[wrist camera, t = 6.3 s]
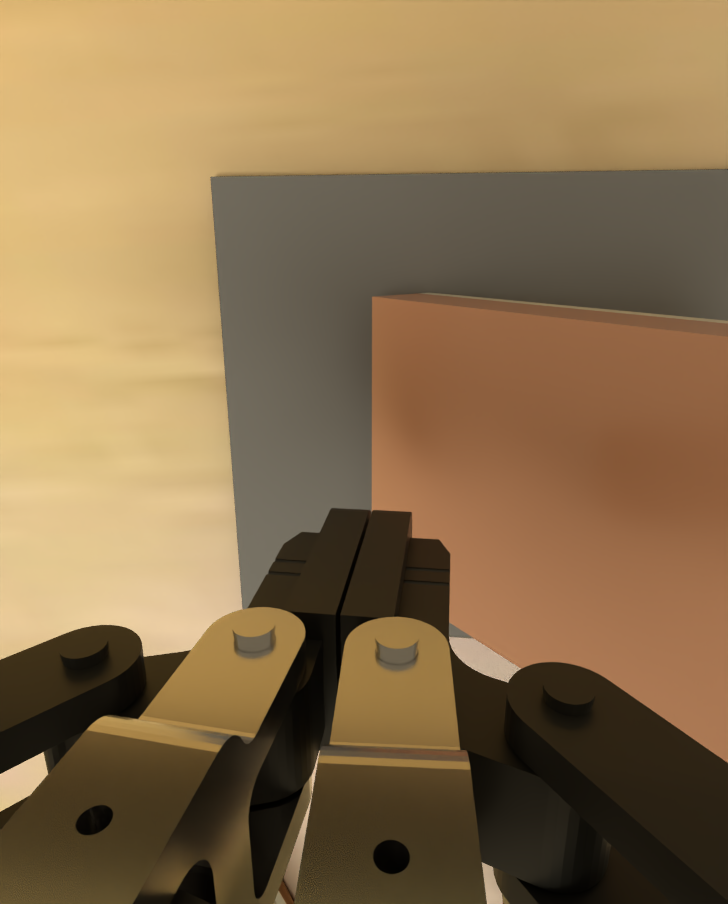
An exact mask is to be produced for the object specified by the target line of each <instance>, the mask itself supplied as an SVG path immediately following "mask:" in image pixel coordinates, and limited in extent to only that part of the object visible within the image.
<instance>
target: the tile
mask: <svg viewBox="0 0 728 904" xmlns="http://www.w3.org/2000/svg"><path fill="white" fill-rule="evenodd" d="M373 510H385V511H405V512H412V538H424V539H439V540H440V541H441V542H442V544H443V545H444V546H445V547H446V549H447V550H448V551H449V552H450V603H449V623H451V624H452V625H454V626H456V627H457V628H459V629H460V630H462V631H463V632H465V633H467V634H468V635H470V636H471V637H473V638H474V639H476V640H478V641H479V642H481V643H482V644H484V645H485V646H487V647H488V648H490V649H492V650H493V651H495V652H496V653H498V654H499V655H501V656H503V657H504V658H506V659H507V660H509V661H510V662H512V663H513V664H515V665H517V666H518V667H520V668H521V669H522V668H524V667H526V666H529V665H532V664H536V663H541V662H562V663H568V664H573V665H577V666H581V667H584V668H586V669H589V670H591V671H594V672H596V673H598V674H600V675H601V676H603V677H605V678H606V679H608V680H609V681H611V682H612V683H614V684H615V685H617V686H618V687H619V688H621V689H622V690H624V691H625V692H627V693H628V694H629V695H631V696H632V697H634V698H635V699H637V700H638V701H640V702H641V703H642V704H644V705H645V706H647V707H648V708H650V709H651V710H652V711H654V712H655V713H657V714H658V715H660V716H661V717H663V718H664V719H665V720H667V721H668V722H670V723H671V724H673V725H674V726H675V727H677V728H678V729H680V730H681V731H683V732H684V733H686V734H687V735H688V736H690V737H691V738H693V739H694V740H696V741H697V742H699V743H700V744H701V745H703V746H704V747H706V748H707V749H709V750H710V751H711V752H713V753H714V754H716V755H717V756H719V757H720V758H722V759H723V760H724V761H726V762H727V763H728V321H725V320H714V319H704V318H693V317H683V316H672V315H662V314H651V313H640V312H630V311H619V310H609V309H598V308H588V307H577V306H566V305H556V304H545V303H535V302H524V301H514V300H503V299H492V298H482V297H471V296H461V295H450V294H440V293H416V294H402V295H388V296H374V297H372V511H373Z"/></svg>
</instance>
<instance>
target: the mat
mask: <svg viewBox="0 0 728 904" xmlns="http://www.w3.org/2000/svg"><path fill="white" fill-rule="evenodd" d="M211 189H212V203H213V216H214V230H215V243H216V257H217V270H218V284H219V297H220V311H221V324H222V338H223V351H224V365H225V378H226V392H227V405H228V419H229V432H230V446H231V459H232V473H233V486H234V499H235V513H236V526H237V540H238V553H239V567H240V580H241V594H242V607H243V609H247V608H248V606H249V604H250V603H251V601H252V599H253V597H254V595H255V594H256V592H257V590H258V588H259V587H260V585H261V583H262V581H263V580H264V578H265V576H266V574H268V571H269V569H270V567H271V565H272V564H273V562H275V558H276V557H277V555H278V553H279V551H280V549H281V548H282V546H283V544H284V543H286V542H287V541H289V540H290V539H292V538H293V537H295V536H296V535H298V534H299V533H301V532H315V533H320V531H321V529H322V526H323V524H324V522H325V520H326V518H327V516H328V513H329V511H330V509H331V508H343V509H363V510H370V511H371V514H372V297H374V296H388V295H402V294H416V293H440V294H450V295H461V296H471V297H482V298H492V299H503V300H514V301H524V302H535V303H545V304H556V305H566V306H577V307H588V308H598V309H609V310H619V311H630V312H640V313H651V314H662V315H672V316H683V317H693V318H704V319H714V320H725V321H728V169H711V170H642V171H574V172H506V173H437V174H369V175H300V176H232V177H211ZM449 637H462V638H473V637H471V636H470V635H468V634H467V633H465V632H463V631H462V630H460V629H459V628H457V627H456V626H454V625H452V624H451V623H449Z"/></svg>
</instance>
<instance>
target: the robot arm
mask: <svg viewBox="0 0 728 904" xmlns="http://www.w3.org/2000/svg"><path fill="white" fill-rule="evenodd" d="M449 603H450V552H449V551H448V550H447V549H446V547H445V546H444V545H443V544H442V542H441V541H440V540H439V539H424V538H412V512H405V511H385V510H373V511H372V514H371V511H370V510H363V509H343V508H331V509H330V511H329V513H328V516H327V518H326V520H325V522H324V524H323V526H322V529H321V531H320V533H315V532H301V533H299V534H298V535H296V536H295V537H293V538H292V539H290V540H289V541H287V542H286V543H284V544H283V546H282V548H281V549H280V551H279V553H278V555H277V557H276V558H275V562H273V564H272V565H271V567H270V569H269V571H268V574H266V576H265V578H264V580H263V581H262V583H261V585H260V587H259V588H258V590H257V592H256V594H255V595H254V597H253V599H252V601H251V603H250V604H249V606H248V608H247V609H243V610H239V611H236V612H232V613H230V614H228V615H225V616H223V617H222V618H220V619H218V620H217V621H216V622H214V623H213V624H212V625H211V626H210V627H209V628H208V629H207V630H206V632H205V633H204V634H203V636H202V637H201V638H200V640H199V641H198V642H197V643H196V645H195V646H194V647H193V649H192V650H190V651H184V652H178V653H170V654H162V655H155V656H147V657H144V656H143V649H142V642H141V640H140V637H139V636H138V635H137V634H136V633H135V632H133V631H132V630H130V629H128V628H125V627H121V626H114V625H99V626H91V627H85V628H81V629H78V630H74V631H71V632H69V633H66V634H63V635H61V636H58V637H56V638H53V639H51V640H48V641H46V642H43V643H41V644H39V645H36V646H34V647H31V648H29V649H26V650H24V651H21V652H19V653H16V654H14V655H11V656H9V657H6V658H4V659H1V660H0V774H1V773H3V772H5V771H7V770H9V769H11V768H13V767H15V766H17V765H19V764H21V763H23V762H24V761H26V760H28V759H30V758H32V757H34V756H36V755H38V754H40V753H42V752H44V756H45V761H46V766H47V770H48V775H47V776H46V777H45V779H44V780H43V781H42V782H41V783H40V784H39V786H38V787H37V788H36V789H35V790H34V791H33V793H32V794H31V795H30V796H28V797H26V798H25V799H23V800H21V801H19V802H17V803H16V804H14V805H12V806H10V807H8V808H6V809H5V810H3V811H1V812H0V904H274V902H275V899H276V896H277V893H278V891H279V888H280V885H281V882H282V879H283V876H284V874H285V871H286V868H287V865H288V862H289V859H290V856H291V854H292V851H293V848H294V845H295V842H296V839H297V837H298V834H299V831H300V828H301V825H302V822H303V820H304V817H305V814H306V811H307V808H308V805H309V802H310V799H311V795H312V799H311V805H310V811H309V817H308V823H307V829H306V835H305V841H304V847H303V853H302V859H301V865H300V871H299V877H298V883H297V889H296V895H295V901H294V904H487V901H486V893H485V885H484V877H483V868H482V862H483V863H485V864H488V865H490V866H492V867H493V869H494V876H495V879H496V882H497V885H498V887H499V889H500V891H501V892H502V894H503V895H504V897H505V898H506V900H507V901H508V902H509V903H510V904H728V763H727V762H726V761H724V760H723V759H722V758H720V757H719V756H717V755H716V754H714V753H713V752H711V751H710V750H709V749H707V748H706V747H704V746H703V745H701V744H700V743H699V742H697V741H696V740H694V739H693V738H691V737H690V736H688V735H687V734H686V733H684V732H683V731H681V730H680V729H678V728H677V727H675V726H674V725H673V724H671V723H670V722H668V721H667V720H665V719H664V718H663V717H661V716H660V715H658V714H657V713H655V712H654V711H652V710H651V709H650V708H648V707H647V706H645V705H644V704H642V703H641V702H640V701H638V700H637V699H635V698H634V697H632V696H631V695H629V694H628V693H627V692H625V691H624V690H622V689H621V688H619V687H618V686H617V685H615V684H614V683H612V682H611V681H609V680H608V679H606V678H605V677H603V676H601V675H600V674H598V673H596V672H594V671H591V670H589V669H586V668H584V667H581V666H577V665H573V664H568V663H562V662H541V663H536V664H532V665H529V666H526V667H524V668H522V669H520V670H519V671H517V672H516V673H515V674H514V675H513V676H512V678H511V679H510V680H509V683H507V682H504V681H501V680H497V679H494V678H491V677H489V676H486V675H483V674H481V673H479V672H477V671H475V670H473V669H472V668H470V667H469V666H467V665H466V664H465V663H463V662H462V661H461V660H460V659H459V658H458V657H457V656H456V655H455V653H454V652H453V650H452V648H451V645H450V643H449ZM319 750H320V754H319V758H318V764H317V770H316V776H315V782H314V788H313V793H312V773H313V770H314V767H315V763H316V760H317V756H318V752H319Z"/></svg>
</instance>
